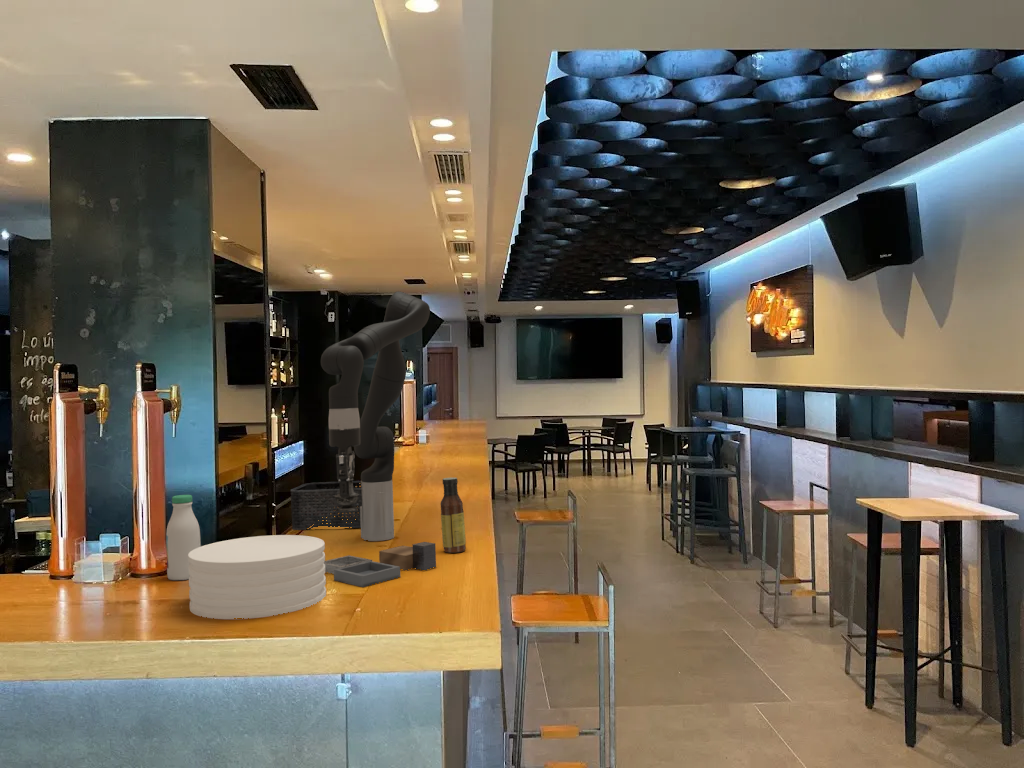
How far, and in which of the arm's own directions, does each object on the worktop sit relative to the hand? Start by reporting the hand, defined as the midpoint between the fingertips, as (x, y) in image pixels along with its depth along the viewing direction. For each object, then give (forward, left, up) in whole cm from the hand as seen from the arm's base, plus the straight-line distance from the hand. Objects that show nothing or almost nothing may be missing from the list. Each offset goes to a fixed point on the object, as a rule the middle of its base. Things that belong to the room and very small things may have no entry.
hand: (346, 494), depth 194 cm
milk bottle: (-29, -27, -19) cm, 44 cm away
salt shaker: (0, 0, -4) cm, 4 cm away
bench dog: (+14, +13, -19) cm, 26 cm away
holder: (-2, +1, -19) cm, 19 cm away
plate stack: (+5, -27, -19) cm, 34 cm away
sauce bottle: (+6, +31, -19) cm, 36 cm away
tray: (+10, -2, -19) cm, 22 cm away
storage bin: (-57, +39, -19) cm, 72 cm away
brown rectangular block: (+7, +12, -19) cm, 24 cm away
